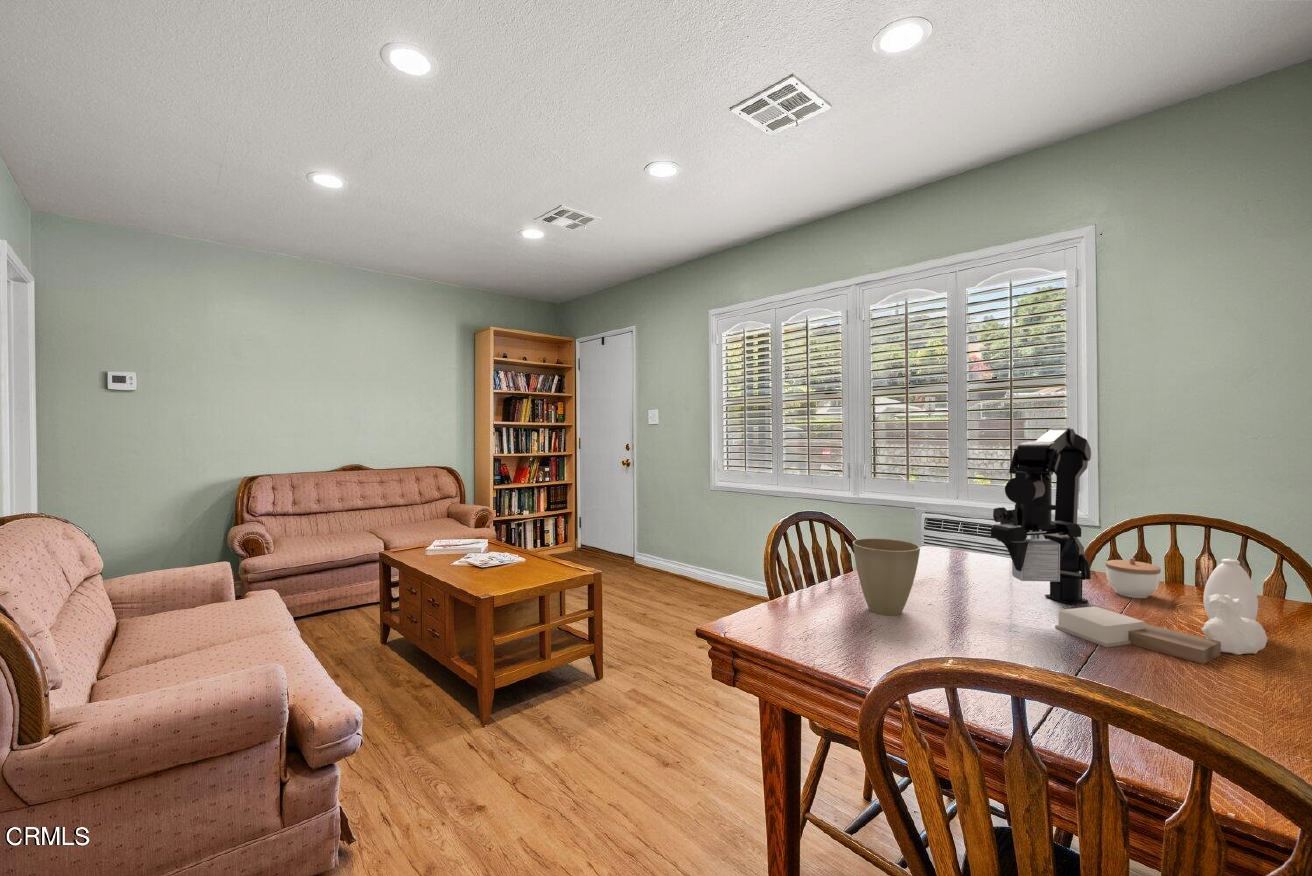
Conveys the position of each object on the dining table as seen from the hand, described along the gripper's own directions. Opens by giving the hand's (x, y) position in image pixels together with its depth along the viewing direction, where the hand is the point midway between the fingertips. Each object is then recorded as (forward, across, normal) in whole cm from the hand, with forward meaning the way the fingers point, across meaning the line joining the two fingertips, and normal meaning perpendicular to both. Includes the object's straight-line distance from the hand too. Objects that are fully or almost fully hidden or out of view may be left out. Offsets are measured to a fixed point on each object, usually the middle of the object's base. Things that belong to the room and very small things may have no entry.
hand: (1035, 569), depth 124 cm
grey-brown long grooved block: (+12, -12, +18) cm, 25 cm away
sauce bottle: (+12, -33, +15) cm, 38 cm away
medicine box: (+2, 0, 0) cm, 2 cm away
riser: (+12, -6, +9) cm, 16 cm away
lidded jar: (+12, -41, -10) cm, 44 cm away
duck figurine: (+12, -24, +21) cm, 34 cm away
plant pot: (+12, +27, -15) cm, 33 cm away
